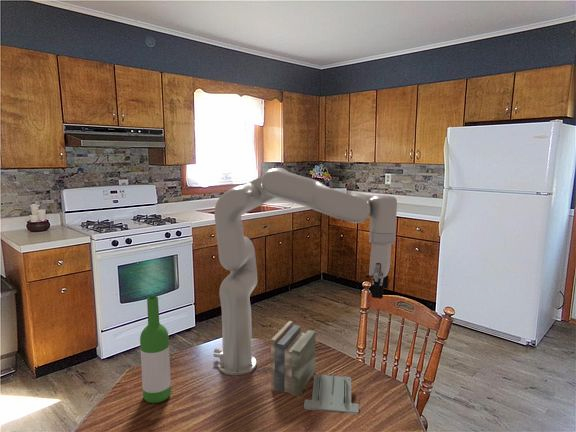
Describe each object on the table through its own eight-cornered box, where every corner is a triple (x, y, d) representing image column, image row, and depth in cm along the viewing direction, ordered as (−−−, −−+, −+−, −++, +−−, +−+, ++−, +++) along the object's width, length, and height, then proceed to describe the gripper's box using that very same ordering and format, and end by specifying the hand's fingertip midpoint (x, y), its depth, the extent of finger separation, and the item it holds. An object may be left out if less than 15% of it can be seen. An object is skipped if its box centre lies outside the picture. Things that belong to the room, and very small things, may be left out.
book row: (271, 389, 121) (270, 339, 118) (289, 366, 134) (289, 320, 131) (299, 396, 117) (299, 345, 115) (314, 372, 130) (315, 325, 128)
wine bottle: (137, 398, 116) (131, 298, 111) (159, 385, 122) (155, 290, 118) (154, 408, 112) (149, 304, 107) (176, 394, 118) (173, 296, 113)
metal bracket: (308, 367, 123) (358, 371, 121) (308, 381, 125) (357, 385, 123) (303, 407, 110) (359, 412, 108) (303, 422, 113) (358, 427, 110)
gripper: (374, 231, 129) (372, 282, 132) (363, 242, 113) (361, 300, 116) (398, 233, 126) (396, 285, 129) (390, 244, 110) (388, 304, 113)
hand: (379, 292), depth 122 cm, fingers open, 9 cm apart
